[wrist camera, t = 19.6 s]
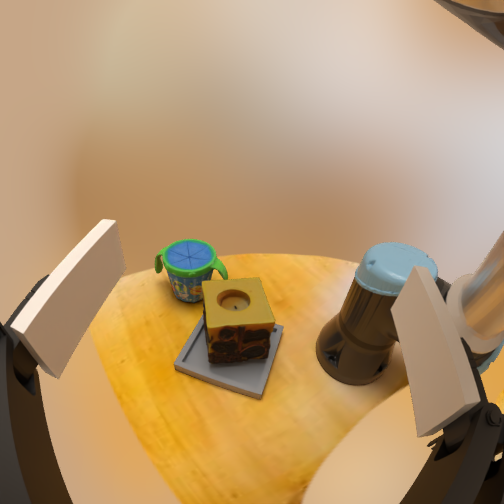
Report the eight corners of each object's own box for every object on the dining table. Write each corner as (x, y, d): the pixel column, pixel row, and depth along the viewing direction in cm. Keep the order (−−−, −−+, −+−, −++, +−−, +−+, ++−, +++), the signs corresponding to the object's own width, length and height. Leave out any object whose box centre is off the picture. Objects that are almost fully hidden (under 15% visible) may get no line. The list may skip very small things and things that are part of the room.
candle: (268, 359, 44) (278, 323, 38) (208, 366, 42) (206, 329, 36) (255, 315, 52) (261, 276, 46) (202, 319, 50) (200, 279, 44)
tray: (281, 332, 52) (283, 326, 50) (260, 399, 40) (261, 394, 39) (209, 310, 54) (209, 304, 53) (175, 369, 43) (173, 363, 41)
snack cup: (234, 287, 61) (237, 250, 55) (213, 321, 52) (213, 282, 47) (174, 267, 64) (170, 230, 58) (148, 294, 56) (141, 257, 50)
